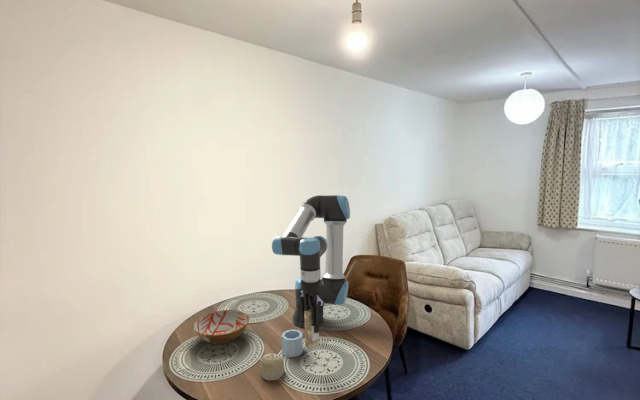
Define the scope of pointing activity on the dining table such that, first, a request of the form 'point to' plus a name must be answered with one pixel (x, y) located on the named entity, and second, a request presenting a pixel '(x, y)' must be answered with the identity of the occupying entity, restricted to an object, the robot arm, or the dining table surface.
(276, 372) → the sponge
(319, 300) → the robot arm
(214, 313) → the bowl
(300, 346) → the jar
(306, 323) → the tan bar
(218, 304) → the dining table surface
